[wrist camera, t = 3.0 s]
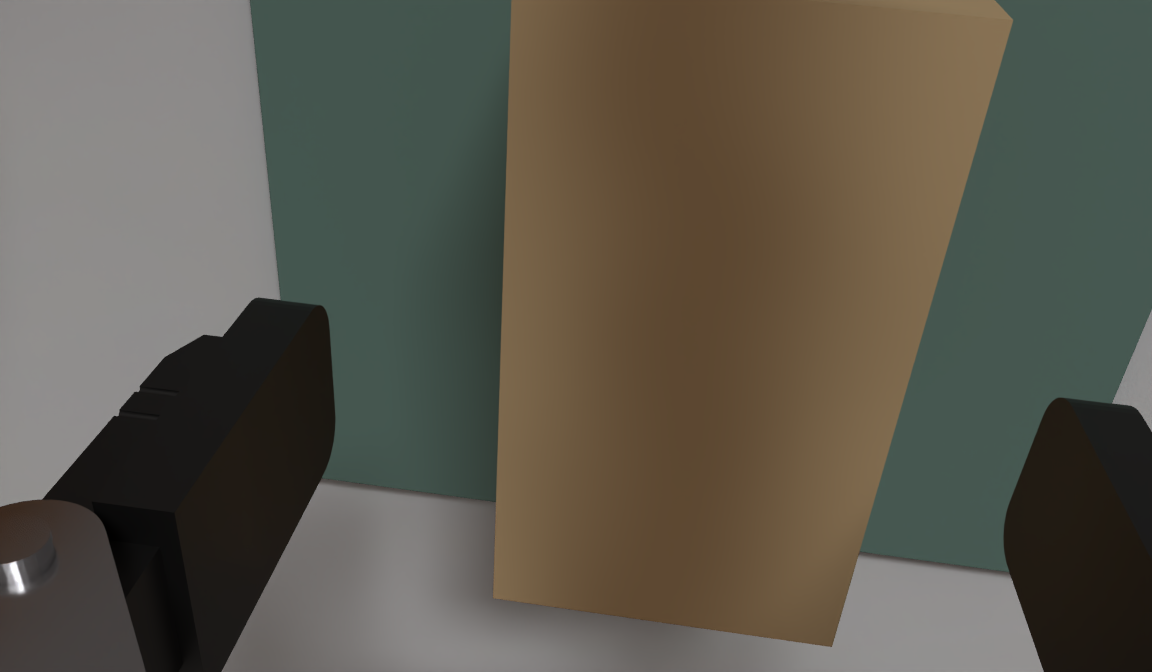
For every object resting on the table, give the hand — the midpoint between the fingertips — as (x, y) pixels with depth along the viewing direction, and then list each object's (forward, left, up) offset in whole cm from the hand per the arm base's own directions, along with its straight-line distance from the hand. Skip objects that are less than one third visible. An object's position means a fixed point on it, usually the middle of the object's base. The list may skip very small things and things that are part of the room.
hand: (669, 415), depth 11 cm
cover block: (0, 0, -7) cm, 7 cm away
